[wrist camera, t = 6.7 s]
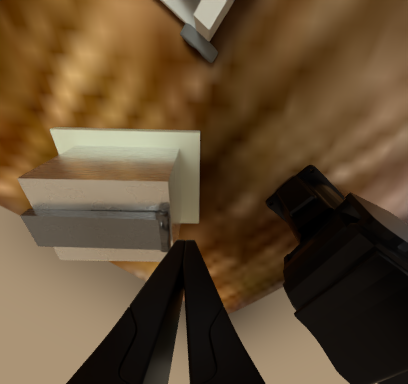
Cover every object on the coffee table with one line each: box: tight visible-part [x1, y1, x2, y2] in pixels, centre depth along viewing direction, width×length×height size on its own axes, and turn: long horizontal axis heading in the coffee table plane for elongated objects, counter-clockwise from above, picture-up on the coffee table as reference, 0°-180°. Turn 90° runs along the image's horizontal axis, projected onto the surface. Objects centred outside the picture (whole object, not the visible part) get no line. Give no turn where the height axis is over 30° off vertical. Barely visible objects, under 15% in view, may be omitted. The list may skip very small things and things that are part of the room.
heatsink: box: [17, 145, 182, 262], centre depth 18 cm, size 11×8×7 cm
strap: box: [20, 209, 171, 252], centre depth 15 cm, size 10×3×1 cm, turn 89°
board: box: [50, 127, 200, 223], centre depth 21 cm, size 14×11×1 cm
